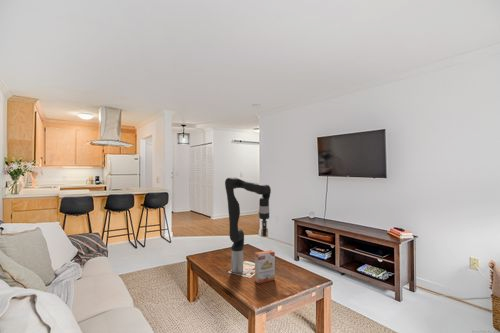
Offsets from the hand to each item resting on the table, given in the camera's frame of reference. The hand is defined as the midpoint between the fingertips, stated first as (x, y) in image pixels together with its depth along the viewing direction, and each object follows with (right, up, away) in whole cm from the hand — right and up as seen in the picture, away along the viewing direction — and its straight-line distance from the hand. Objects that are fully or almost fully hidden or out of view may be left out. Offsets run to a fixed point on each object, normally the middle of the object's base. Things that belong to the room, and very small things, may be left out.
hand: (264, 234), depth 192 cm
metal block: (0, -1, 0) cm, 1 cm away
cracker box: (0, -34, 0) cm, 34 cm away
